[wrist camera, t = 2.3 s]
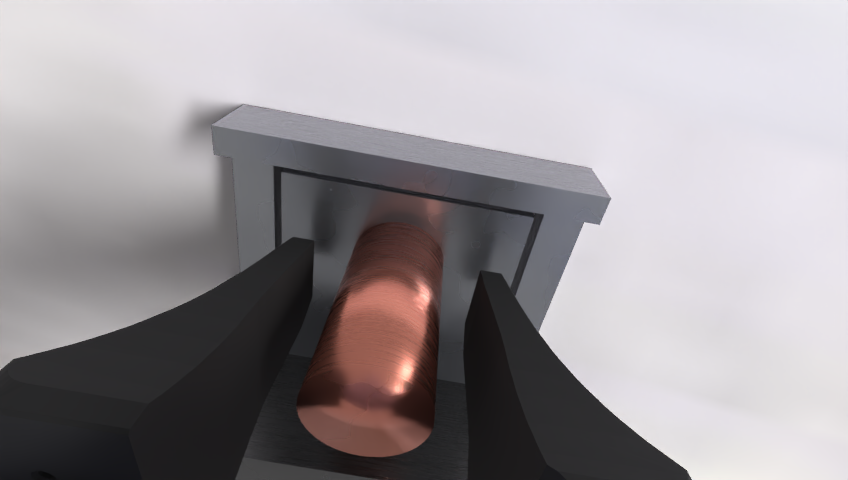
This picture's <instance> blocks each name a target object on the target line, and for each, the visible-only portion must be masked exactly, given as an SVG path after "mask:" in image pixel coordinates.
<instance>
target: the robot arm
mask: <svg viewBox="0 0 848 480" xmlns="http://www.w3.org/2000/svg"><path fill="white" fill-rule="evenodd" d="M314 241H315V240H309V239H304V238H298V237H292V238H290V239H289V240H287V241H286V242H284V243H283V244H281V245H280V246H279V247H277V248H276V249H274V250H273V251H272V252H270V253H269V254H267V255H266V256H264V257H263V258H262V259H260V260H259V261H257V262H256V263H254V264H253V265H251V266H250V267H248V268H247V269H245V270H244V271H242V272H241V273H239V274H237V275H236V276H234V277H232V278H231V279H229V280H227V281H226V282H224V283H222V284H221V285H219V286H217V287H216V288H214V289H212V290H210V291H208V292H207V293H205V294H203V295H201V296H199V297H197V298H195V299H193V300H191V301H189V302H186V303H184V304H182V305H180V306H178V307H176V308H174V309H171V310H169V311H166V312H164V313H162V314H159V315H157V316H154V317H152V318H149V319H147V320H144V321H142V322H139V323H137V324H134V325H131V326H129V327H126V328H123V329H120V330H117V331H114V332H111V333H108V334H105V335H102V336H99V337H95V338H92V339H89V340H86V341H82V342H79V343H75V344H72V345H68V346H64V347H60V348H56V349H52V350H49V351H45V352H41V353H37V354H33V355H29V356H25V357H20V358H16V359H13V360H12V361H11V362H10V363H8V364H7V365H6V366H5V367H4V368H3V369H1V370H0V480H235V479H236V476H237V473H238V471H239V468H240V465H241V462H242V460H243V457H244V454H245V451H246V449H247V446H248V443H249V440H250V438H251V435H252V433H253V430H254V427H255V425H256V422H257V419H258V417H259V414H260V412H261V409H262V407H263V404H264V402H265V400H266V398H267V395H268V393H269V391H270V389H271V387H272V385H273V383H274V381H275V379H276V377H277V375H278V373H279V371H280V369H281V367H282V365H283V363H284V361H285V360H286V358H287V356H288V354H289V352H290V350H291V348H292V346H293V344H294V342H295V340H296V338H297V336H298V334H299V332H300V329H301V327H302V325H303V322H304V319H305V317H306V314H307V311H308V308H309V305H310V302H311V299H312V293H313V267H314ZM463 361H464V376H465V390H466V403H467V417H468V440H469V443H468V478H467V480H692V479H691V477H690V476H689V474H688V472H687V470H685V469H684V468H683V467H681V466H680V465H679V464H677V463H676V462H674V461H673V460H672V459H670V458H669V457H668V456H666V455H665V454H663V453H662V452H661V451H659V450H658V449H657V448H655V447H654V446H652V445H651V444H650V443H648V442H647V441H646V440H644V439H643V438H642V437H640V436H639V435H638V434H637V433H636V432H634V431H633V430H632V429H631V428H629V427H628V426H627V425H626V424H625V423H623V422H622V421H621V420H620V419H619V418H617V417H616V416H615V415H614V414H613V413H612V412H611V411H609V410H608V409H607V408H606V407H605V406H604V405H603V404H602V403H601V402H600V401H599V400H598V399H597V398H595V397H594V396H593V395H592V394H591V393H590V392H589V391H588V390H587V389H586V388H585V387H584V386H583V385H582V384H581V383H580V382H579V381H578V380H577V379H576V378H575V377H574V375H573V374H572V373H571V372H570V371H569V370H568V369H567V368H566V366H565V365H564V364H563V363H562V362H561V361H560V360H559V359H558V357H557V356H556V355H555V354H554V352H553V351H552V350H551V349H550V347H549V346H548V345H547V343H546V342H545V341H544V339H543V338H542V337H541V336H540V334H539V333H538V331H537V330H536V328H535V327H534V325H533V324H532V322H531V321H530V319H529V318H528V316H527V315H526V313H525V312H524V310H523V309H522V307H521V305H520V304H519V302H518V300H517V299H516V297H515V295H514V294H513V292H512V290H511V289H510V287H509V285H508V283H507V282H506V280H505V278H504V277H503V275H502V274H501V273H496V272H490V271H484V270H480V272H479V276H478V279H477V283H476V286H475V290H474V293H473V297H472V300H471V303H470V307H469V310H468V314H467V317H466V321H465V329H464V346H463Z"/></svg>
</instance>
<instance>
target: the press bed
mask: <svg viewBox="0 0 848 480" xmlns="http://www.w3.org/2000/svg"><path fill="white" fill-rule="evenodd" d="M211 129H212V140H213V150H214V155H218V156H224V157H229V158H232V166H233V180H234V194H235V208H236V222H237V235H238V249H239V263H240V273H241V272H242V271H244V270H245V269H247V268H248V267H250V266H251V265H253V264H254V263H256V262H257V261H259V260H260V259H262V258H263V257H264V256H266V255H267V254H269V253H270V252H272V251H273V250H274V249H276V248H277V247H279V246H280V245H281V244H282V213H281V172H282V171H283V169H284V168H290V169H295V170H301V171H306V172H312V173H317V174H323V175H329V176H334V177H340V178H345V179H351V180H356V181H362V182H367V183H373V184H378V185H384V186H389V187H395V188H400V189H406V190H411V191H417V192H422V193H428V194H433V195H439V196H444V197H450V198H455V199H461V200H466V201H472V202H477V203H483V204H488V205H494V206H499V207H505V208H510V209H516V210H521V211H527V212H532V213H534V220H533V223H532V226H531V229H530V232H529V235H528V238H527V241H526V244H525V246H524V249H523V252H522V255H521V258H520V261H519V264H518V267H517V270H516V273H515V276H514V278H513V281H512V284H511V287H510V289H511V290H512V292H513V294H514V295H515V297H516V299H517V300H518V302H519V304H520V305H521V307H522V309H523V310H524V312H525V313H526V315H527V316H528V318H529V319H530V321H531V322H532V324H533V325H534V327H535V328H536V330H537V331H538V332H539V329H540V327H541V324H542V322H543V320H544V317H545V315H546V312H547V310H548V308H549V305H550V303H551V300H552V298H553V296H554V293H555V291H556V288H557V286H558V284H559V281H560V279H561V276H562V274H563V272H564V269H565V267H566V264H567V262H568V260H569V257H570V255H571V252H572V250H573V248H574V245H575V243H576V240H577V238H578V236H579V233H580V231H581V228H582V226H583V224H584V222H588V223H593V224H599V225H600V222H601V220H602V218H603V216H604V213H605V211H606V209H607V206H608V204H609V202H610V200H611V198H610V196H609V195H608V193H607V191H606V190H605V188H604V187H603V185H602V184H601V182H600V181H599V179H598V178H597V176H596V175H595V173H594V172H593V170H592V169H591V168H586V167H580V166H575V165H570V164H564V163H559V162H553V161H548V160H542V159H537V158H532V157H526V156H521V155H515V154H510V153H505V152H499V151H494V150H488V149H483V148H478V147H472V146H467V145H461V144H456V143H451V142H445V141H440V140H434V139H429V138H424V137H418V136H413V135H407V134H402V133H396V132H391V131H386V130H380V129H375V128H369V127H364V126H359V125H353V124H348V123H342V122H337V121H332V120H326V119H321V118H315V117H310V116H305V115H299V114H294V113H288V112H283V111H278V110H272V109H267V108H261V107H256V106H250V105H245V104H244V105H242V106H241V107H239V108H237V109H236V110H234V111H233V112H231V113H229V114H228V115H226V116H225V117H223V118H222V119H220V120H218V121H217V122H215V123H214V124H212V125H211Z"/></svg>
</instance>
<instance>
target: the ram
mask: <svg viewBox="0 0 848 480" xmlns="http://www.w3.org/2000/svg"><path fill="white" fill-rule="evenodd" d="M281 213H282V244H283V243H284V242H286V241H287V240H289V239H290V238H292V237H298V238H304V239H309V240H315V241H314V267H313V293H312V299H311V302H310V305H309V308H308V311H307V314H306V317H305V319H304V322H303V325H302V327H301V329H300V332H299V334H298V336H297V338H296V340H295V342H294V344H293V346H292V348H291V350H290V352H289V354H288V356H287V358H286V360H285V361H284V363H283V365H282V367H281V369H280V371H279V373H278V375H277V377H276V379H275V381H274V383H273V385H272V387H271V389H270V391H269V393H268V395H267V398H266V400H265V402H264V404H263V407H262V409H261V412H260V414H259V417H258V419H257V422H256V425H255V427H254V430H253V433H252V435H251V438H250V440H249V443H248V446H247V449H246V451H245V454H244V457H243V460H242V462H241V465H240V468H239V471H238V473H237V476H236V479H235V480H467V478H468V443H469V440H468V417H467V403H466V390H465V376H464V361H463V346H464V329H465V321H466V317H467V314H468V310H469V307H470V303H471V300H472V297H473V293H474V290H475V286H476V283H477V279H478V276H479V272H480V270H484V271H490V272H496V273H501V274H502V275H503V277H504V278H505V280H506V282H507V283H508V285H509V287H511V284H512V281H513V278H514V276H515V273H516V270H517V267H518V264H519V261H520V258H521V255H522V252H523V249H524V246H525V244H526V241H527V238H528V235H529V232H530V229H531V226H532V223H533V220H534V215H533V213H532V212H527V211H521V210H516V209H510V208H505V207H499V206H494V205H488V204H483V203H477V202H472V201H466V200H461V199H455V198H450V197H444V196H439V195H433V194H428V193H422V192H417V191H411V190H406V189H400V188H395V187H389V186H384V185H378V184H373V183H367V182H362V181H356V180H351V179H345V178H340V177H334V176H329V175H323V174H317V173H312V172H306V171H301V170H295V169H290V168H284V169H283V171H282V172H281Z"/></svg>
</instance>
